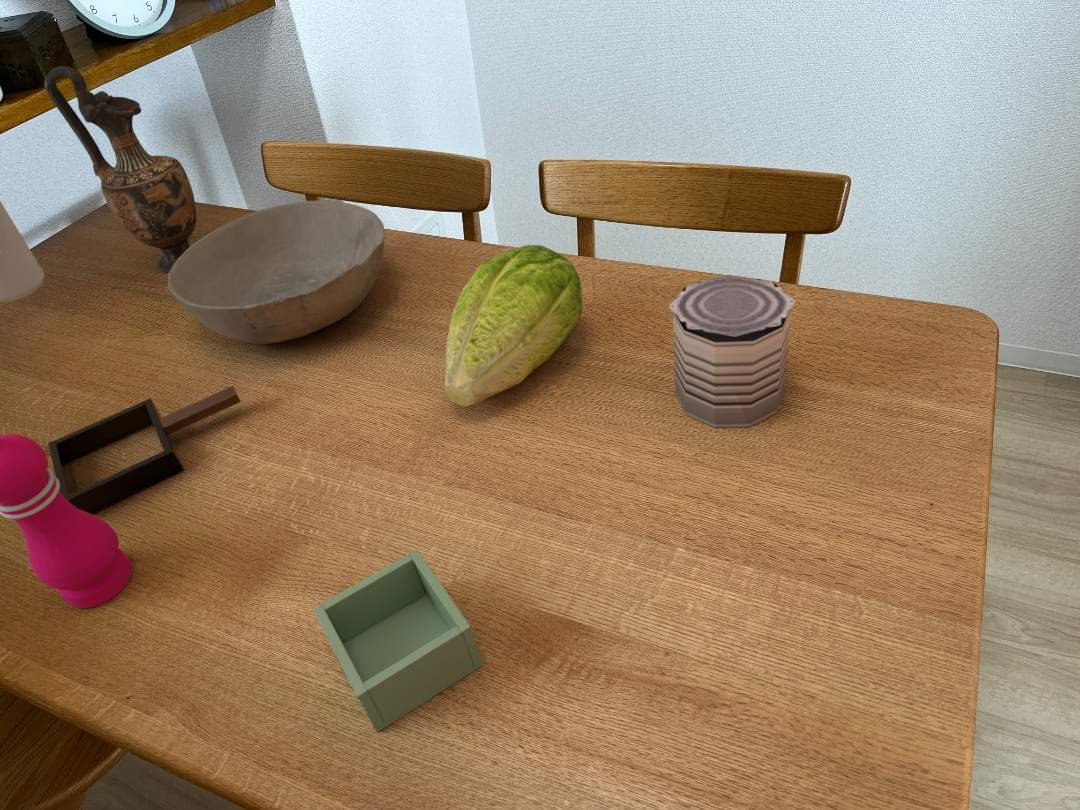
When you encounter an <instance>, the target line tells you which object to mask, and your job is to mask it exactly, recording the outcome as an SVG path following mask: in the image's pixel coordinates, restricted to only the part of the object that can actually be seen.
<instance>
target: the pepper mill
mask: <svg viewBox="0 0 1080 810" xmlns="http://www.w3.org/2000/svg"><path fill="white" fill-rule="evenodd" d="M48 467H49V459H48V454H46V452H45V450H44V448H43V447H42V446H41V445H40V444H38V443H37V441H35V440H34V439H32V438H30V437H28V436H26V435H22V434H18V433H5V434H0V515H1V516H2V517H4V518H6V519H9V520H13V521H15V523H17V525H18V526H19V528H20V530H21V532H22V533H23V535H24V538H25V542H26V546H27V554H28V559H29V563H30V565H31V568H32V571H33V572H34V574H35V576H36V577H37V578H38V580H39V581H40V582H41V583H42V584H43V585H45V586H46V587H48V588H50V589H54V590H58V592H59V594H60V595H61V596H62V597H63V599H64V600H65V601H66V602H67V604H69V605H70V606H72V607H74V608H77V609H91V608H95V607H97V606H100V605H103V604H105V603H107V602H108V601H110V600H112V599H113V598H114V597H116V596H117V595H119V594H120V592H121V591H122V590H123V589H124V588H125V587H126V586H127V585H128V582H129V581H130V579H131V576H132V573H133V565H132V562H131V561H130V559H129V557H128V556H127V554H126V553H124V551H123V550H122V549H121V548H120V541H119V536H118V534H117V533H116V531H115V530H114V529H113V527H111V526H110V524H109V523H108V522H106V521H105V520H104V519H102V518H100V517H99V516H97V515H95V514H90V513H88V512H85V511H83V510H80V509H78V508H76V507H75V506H74V505H72V504H71V503H69V502H68V501H67V499H66V498H65V497H64V496H63V495H62V494H61V492H60V491H59V488H60V483H59V480H58V479H57V478H56V476H55V473H54V471H52V470H51V469H49V468H48Z"/></svg>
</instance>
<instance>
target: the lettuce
mask: <svg viewBox="0 0 1080 810" xmlns="http://www.w3.org/2000/svg"><path fill="white" fill-rule="evenodd" d="M581 283H582V282H581V277H580V275H579V273H578V272H577V269H576V268H575V266H574V264H573V263H572V261H571V260H569V259H567V258H566V257H565V256H563V255H561V254H560V253H559V252H557V251H555V250H553V249H550V248H548V247H547V246H544V245H538V244H526V245H523V246H519V247H516V248H513V249H510V250H508V251H506V252H503V253H501V254H499V255H495V256H492V257H489V258H486V259H485V260H484V261H483V262H482V263H481V264H480V265H479V266H478V267H477V268H476V269H475V271H474V272H473V274H472V275H471V276H470V278H469V279H468V281H467V283H465V285H464V287H463V288H462V289H461V292H460V294H459V297H458V299H457V302H456V304H455V306H454V308H453V311H452V315H451V318H450V319H451V320H450V323H449V328H448V332H447V333H448V334H447V338H446V343H445V375H444V394H445V395H446V396H447V397H448V398H449V400H451V401H452V402H453V403H454V404H456V405H459V406H462V407H464V408H465V407H468V406H472V405H474V404H476V403H480V402H482V401H483V400H486V399H488V398H489V397H492V396H494V395H497V394H500V393H502V392H504V391H506V390H509V389H511V388H513V387H516V386H518V385H520V384H521V383H522V382H523V381H524V380H526V379H527V378H528V376H529V375H530V374H532V372H534V370H536V369H538V368H539V367H540V366H541V365H542V364H544V363H545V362H546V361H548V360H549V359H550V358H551V357H552V356H553V355H554V354H555V353H556V352H557V351H558V350H559V348H561V347H562V345H563V344H564V343H565V342H566V341H567V340H568V339H569V337H570V336H571V334H572V332H573V331H574V329H575V328H576V326H577V325H578V323H579V320H580V318H581V315H582V312H583V289H582V284H581Z"/></svg>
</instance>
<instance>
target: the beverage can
mask: <svg viewBox="0 0 1080 810" xmlns="http://www.w3.org/2000/svg"><path fill="white" fill-rule="evenodd" d="M0 249H1V255H0V303H10V302H14V301H19V300H21V299H24V298H26V297H28V296H30V295H32V294H33V293H34V292H36V291H37V290H38V289H40V287H41V286H42V285H43V283H44V280H45V272H44V270H43V268H42V267H41V265H40V263H39V262H38V260H37V259H36V258H35V256H34V253H33V252H32V250H31V249H30V247H29V246H28V244H27V242H26V241H25V239H24V238H23V236H22V234H21V233H20V231H19V229H18V228H17V226H16V224H15V222H14V221H13V219H12V218H11V215H10V214H9V213H8V211H7V209H6V207H5V206H4V204H3V203H2V201H1V200H0Z"/></svg>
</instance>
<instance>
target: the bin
mask: <svg viewBox="0 0 1080 810" xmlns="http://www.w3.org/2000/svg"><path fill="white" fill-rule="evenodd" d="M312 610H313V613H314V615H315V617H316V618H317V620H318V623H319V624H320V627H321V629H322V630H323V632H324V634H325V636H326V638H327V640H328V642H329V644H330V646H331V648H332V650H333V652H334V654H335V656H336V657H337V660H338V662H339V664H340V666H341V668H342V670H343V672H344V674H345V676H346V678H347V679H348V681H349V683H350V685H351V687H352V689H353V691H354V693H355V695H356V697H357V699H358V701H359V702H360V704H361V706H362V708H363V709H364V711H365V713H366V715H367V716H368V718H369V720H370V722H371V724H372V726H373V728H374V729H375V731H376V733H379V732H380V731H382V730H384V729H385V728H386V727H389V726H390V725H391V724H394V723H395V722H396V721H398V720H399V719H401V718H402V717H405V715H407V714H409V713H410V712H412V711H413V710H415V709H416V708H418V707H419V706H421V705H423V704H424V703H426V702H428V701H429V700H430V699H432V698H434V697H435V696H437V695H438V694H440V693H442V692H443V691H445V690H446V689H447V688H449V687H450V686H453V685H454V684H455V683H457V682H459V681H460V680H461V679H462V680H463V678H465V677H467V676H468V675H470V674H471V673H472V672H474V671H476V670H477V669H479V668H480V667H482V666H484V661H483V659H482V655H481V653H480V650H479V647H478V644H477V641H476V638H475V635H474V632H473V628H472V626H471V625H470V623H469V622H468V621H467V619H466V617H465V616H464V614H463V613H462V611H461V610H460V609H459V607H458V606H457V605H456V603H455V601H454V600H453V599H452V597H451V596H450V595H449V593H448V592H447V590H446V588H445V587H444V586H443V584H442V583H441V581H440V580H439V579H438V577H437V576H436V574H435V573H434V571H433V570H432V568H431V567H430V565H429V564H428V562H427V561H426V560H425V558H424V557H423V555H422V554H421V552H420V551H419V550H418V548H416V549H414V550H413V551H410V552H409V553H408V554H406V555H404V556H402V557H400V558H398V559H397V560H395V561H394V562H392V563H390V564H388V565H387V566H385V567H383V568H381V569H379V570H377V571H376V572H374V573H373V574H370V575H369V576H367V577H366V578H364V579H362V580H360V581H358V582H357V583H355V584H353V585H351V586H350V587H347V588H346V589H344V590H342V591H341V592H339V593H337V594H335V595H334V596H332V597H330V598H328V599H326V600H325V601H322V602H321V603H319V604H317V605H316V606H314V607H312Z"/></svg>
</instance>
